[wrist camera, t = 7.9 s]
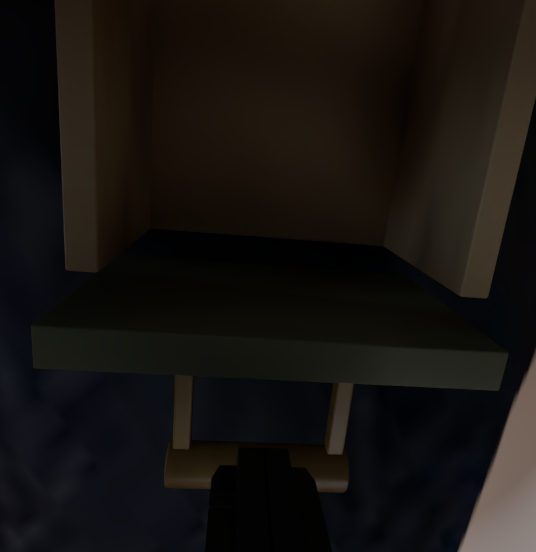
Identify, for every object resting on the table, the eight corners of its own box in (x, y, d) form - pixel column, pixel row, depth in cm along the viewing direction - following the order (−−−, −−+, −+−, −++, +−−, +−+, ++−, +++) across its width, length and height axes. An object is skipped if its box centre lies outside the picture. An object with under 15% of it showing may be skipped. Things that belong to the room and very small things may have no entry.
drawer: (378, 413, 21) (455, 558, 14) (118, 402, 20) (44, 552, 13) (473, -111, 15) (699, -367, 8) (114, -164, 14) (-27, -520, 7)
